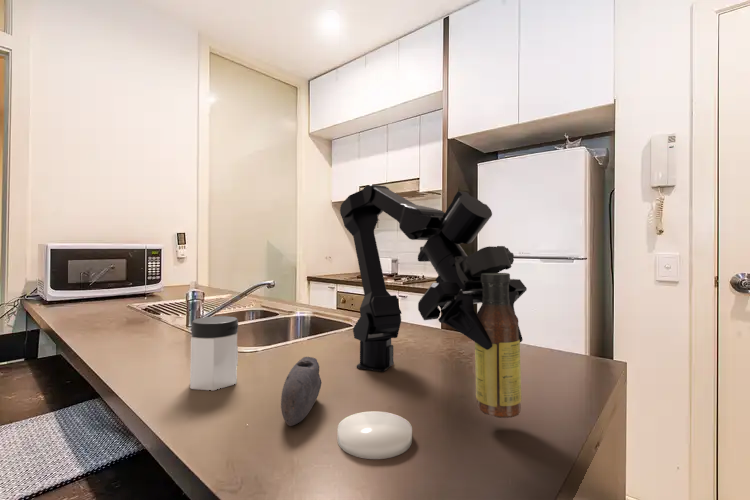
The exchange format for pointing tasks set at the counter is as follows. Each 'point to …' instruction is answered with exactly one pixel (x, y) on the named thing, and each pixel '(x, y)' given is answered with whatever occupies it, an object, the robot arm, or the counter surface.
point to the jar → (214, 352)
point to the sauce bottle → (498, 350)
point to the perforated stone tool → (300, 390)
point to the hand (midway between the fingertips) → (505, 345)
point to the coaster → (374, 435)
